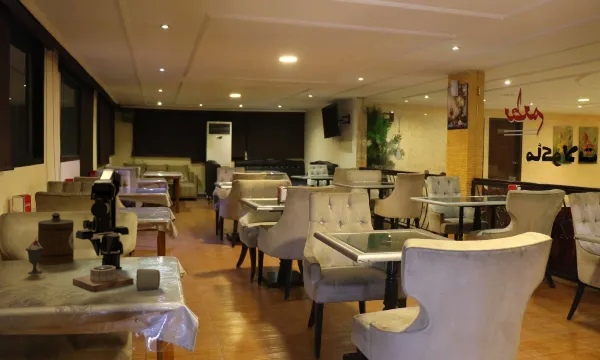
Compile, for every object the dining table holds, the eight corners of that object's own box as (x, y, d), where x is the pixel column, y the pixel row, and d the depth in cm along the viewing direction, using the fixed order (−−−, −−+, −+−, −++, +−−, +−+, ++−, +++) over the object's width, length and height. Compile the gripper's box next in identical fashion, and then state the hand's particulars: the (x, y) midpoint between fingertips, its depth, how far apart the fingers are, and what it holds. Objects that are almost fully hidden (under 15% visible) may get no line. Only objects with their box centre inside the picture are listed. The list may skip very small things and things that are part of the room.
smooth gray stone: (105, 276, 202) (105, 265, 202) (112, 278, 199) (112, 268, 199) (93, 278, 198) (93, 268, 198) (100, 280, 195) (100, 270, 195)
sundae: (36, 275, 210) (36, 238, 209) (21, 274, 211) (21, 237, 210) (47, 271, 216) (47, 235, 215) (33, 270, 217) (33, 234, 217)
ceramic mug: (160, 290, 191) (160, 269, 190) (137, 292, 188) (137, 271, 187) (157, 284, 200) (157, 264, 200) (135, 285, 197) (135, 265, 197)
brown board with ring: (111, 276, 210) (111, 261, 210) (133, 283, 200) (133, 268, 199) (72, 283, 198) (72, 267, 198) (93, 291, 188) (93, 275, 187)
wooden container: (79, 261, 237) (79, 213, 236) (46, 266, 226) (45, 215, 225) (64, 256, 247) (64, 210, 246) (32, 260, 236) (31, 212, 235)
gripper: (114, 210, 210) (114, 249, 210) (68, 214, 196) (69, 255, 196) (129, 213, 202) (129, 253, 203) (83, 217, 188) (83, 259, 189)
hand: (103, 255), depth 198 cm, fingers open, 4 cm apart
